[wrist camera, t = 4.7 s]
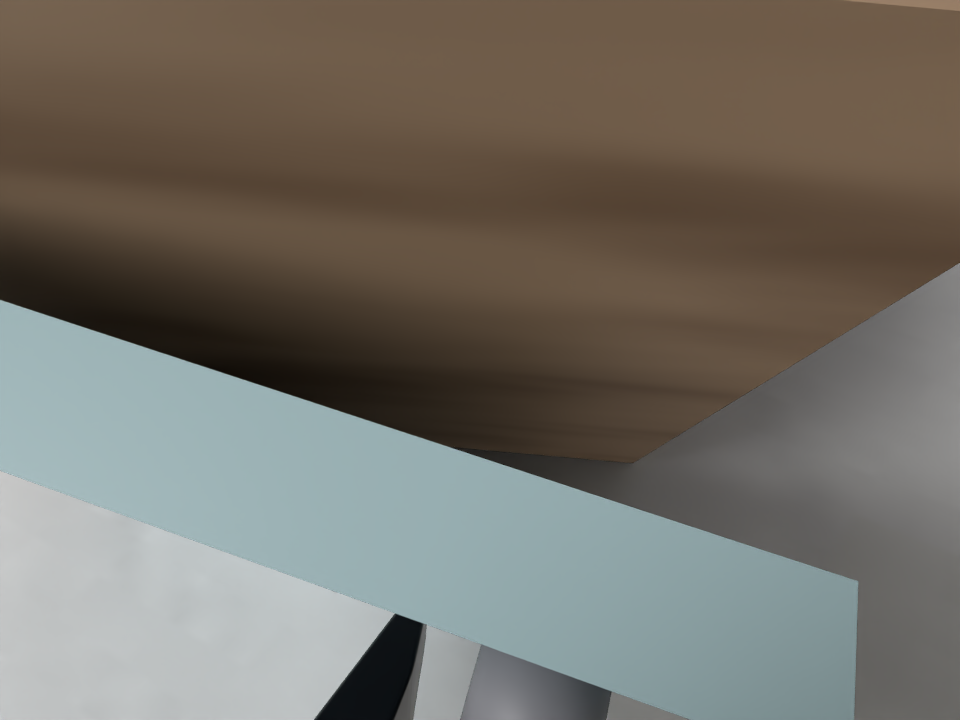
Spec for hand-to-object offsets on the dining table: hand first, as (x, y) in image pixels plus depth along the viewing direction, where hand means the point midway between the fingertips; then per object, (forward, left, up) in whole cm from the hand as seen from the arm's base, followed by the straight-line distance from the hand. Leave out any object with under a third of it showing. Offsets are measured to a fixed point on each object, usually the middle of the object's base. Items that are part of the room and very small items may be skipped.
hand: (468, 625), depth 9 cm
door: (-3, +4, -7) cm, 9 cm away
